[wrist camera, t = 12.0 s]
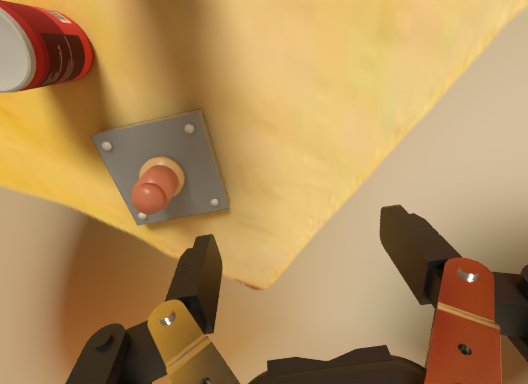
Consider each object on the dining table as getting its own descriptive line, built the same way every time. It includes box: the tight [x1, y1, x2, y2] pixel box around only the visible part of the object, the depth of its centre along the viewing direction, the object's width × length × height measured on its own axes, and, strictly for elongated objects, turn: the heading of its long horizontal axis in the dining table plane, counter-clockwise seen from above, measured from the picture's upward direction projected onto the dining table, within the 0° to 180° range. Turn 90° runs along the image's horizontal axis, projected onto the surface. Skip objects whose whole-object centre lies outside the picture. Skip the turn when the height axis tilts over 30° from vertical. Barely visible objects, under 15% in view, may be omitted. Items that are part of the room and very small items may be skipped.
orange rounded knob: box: [131, 165, 179, 215], centre depth 34 cm, size 5×5×6 cm
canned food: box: [0, 0, 93, 93], centre depth 28 cm, size 8×8×11 cm
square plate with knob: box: [90, 109, 230, 226], centre depth 39 cm, size 15×15×4 cm
